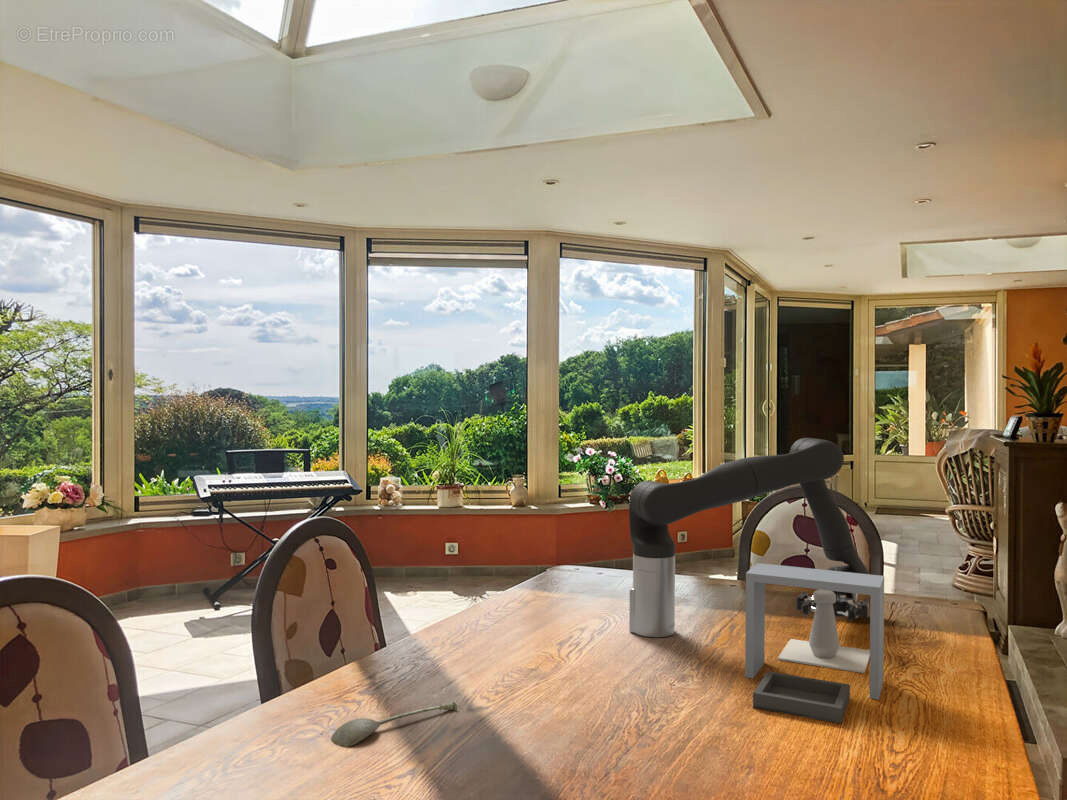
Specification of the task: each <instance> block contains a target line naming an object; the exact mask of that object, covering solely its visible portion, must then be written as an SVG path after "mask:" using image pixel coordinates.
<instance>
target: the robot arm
mask: <svg viewBox="0 0 1067 800" xmlns="http://www.w3.org/2000/svg"><path fill="white" fill-rule="evenodd" d="M844 462H845V456H844V453H843V451H842V449H841V448H840V447H839V446H838V445H837V444H836V443H834V442H832V441H830V440H826V439H822V438H821V439H820V438H813V437H802V438H800V439H797V440H796V441H794V442H793V444H792V445H791V447H790V450H789V453H786V454H776V455H775V454H774V455H771V454H770V455H758V456H749V457H743V458H738V459H735V460H732V461H727V462H724V463H722V464H719V465H717V466H714V467H713V468H712V469H710V470H709V471H707V472H705V473H704V474H702V475H701V476H699V477H695V478H693V479H688V480H684V481H680V482H672V483H665V482H659V481H655V480H644V481H641V482H638V484H637V485H635V486H634V488H633V490H632V491H631V493H630V496H629V505H628V507H629V509H628V512H629V513H628V514H629V515H628V517H629V521H628V522H629V538H630V540H631V541H630V542H631V544H632V587H631V588H629V608H628V609H629V610H628V611H629V612H628V613H629V618H628V619H629V622H628V624H629V625H628V626H629V627H628V628H629V631H628V632H630V633H634V634H636V635H639V636H642V637H647V638H664V637H665V638H666V637H670V636H673V635H674V634H675V629H676V628H675V626H676V625H675V624H676V621H675V613H676V611H675V610H676V603H675V602H676V589H675V588H676V543H675V541H674V540H673V538H672V537H671V534H670V531H669V526H668V525H670V524H672V523H673V524H674V523H675V522H678V521H680V520H683V519H685V518H688V517H690V516H692V515H695V514H697V513H699V512H703V511H706V510H710V509H715V508H719V507H724V506H728V505H732V504H735V503H741V502H744V501H747V500H750V499H751V500H752V499H753V498H754V499H755V498H756V497H759V496H763V495H766V494H770V493H772V492H776V491H779V490H782V489H785V488H787V487H791V486H795V485H800V488H801V490H802V492H803V495H804V497H805V499H806V501H807V504H808V505H809V506H808V507H809V508H810V512H811V514H812V517H813V519H814V521H815V525H816V528H817V531H818V536H819V538H820V542H821V546H822V549H823V553H824V556H825V557H826V558H827V559H828V560H830V561H834V562H842V563H845V564H847V565H837V566H835V565H834V566H831V567H828V568H826V570H831V571H840V572H850V573H860V574H870V572H869V570H868V568H867V566H866V565H865V564H864V562H863V561H862V559H861V557H860V556H859V554H858V552H857V550H856V547H855V544H854V541H853V540H854V539H853V537H852V534H851V531H850V526H849V523H848V521H847V519H846V517H845V516H844V514H843V512H842V510H841V509H840V507H839V506H838V503H837V502H836V501H835V499H834V497H833V495H832V494H831V492H830V490H829V489H828V486H827V482H826V480H828V479H831V478H832V477H834V476H835V475H836V474H838V473H839V472H840V471H841V470H842V467H843V465H844ZM833 592H834V593H835V595H836V602H835V603H834V604H833V609H834V615H835V618H841V617H847V621H850V622H852V621H853V620H856V619H857V618H859V616H861V618H863V619H867V618H869V613H870V612H869V610H870V609H869V608H870V606H869V603H870V601H869V600H870V599H866V598H863V599H862V600H859V601H857V600H858V596H859V594H856V593H847V592H839V591H833ZM795 602H796V603H795V607H796V608H795V609H796V610H798V611H800V610H801V613H803V614H804V616H809V615H810V613H811V612H814V613H815V610H816V605H817V603H816V602H814V599H813V595H811V596H809V594H808V592H805V591H803V592H801V593H799V594H798V595H797V596H796V599H795Z"/></svg>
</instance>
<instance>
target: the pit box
mask: <svg viewBox="0 0 1067 800" xmlns="http://www.w3.org/2000/svg"><path fill="white" fill-rule="evenodd" d="M850 692H851V684H848V683H843V682H836V681H832V680H831V681H830V680H824V679H818V678H812V677H807V676H806V677H805V676H799V675H793V674H787V673H781V672H777V671H775V672H774V671H766V673H765V674H764V676H763V677H762V678H761V681H760V682H759V683H758V684H757V687H756V688H755V689H754V691H753V692H752V709H753V708H754V709H759V710H763V711H769V712H773V713H774V712H776V713H781V714H785V715H790V716H791V715H792V716H796V717H797V716H798V717H801V718H807V719H813V720H816V721H817V720H819V721H825V722H829V723H835V724H840V725H842V723H843V720H844V717H845V714H846V711H847V708H848V706H849V702H850V698H851V693H850Z"/></svg>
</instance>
